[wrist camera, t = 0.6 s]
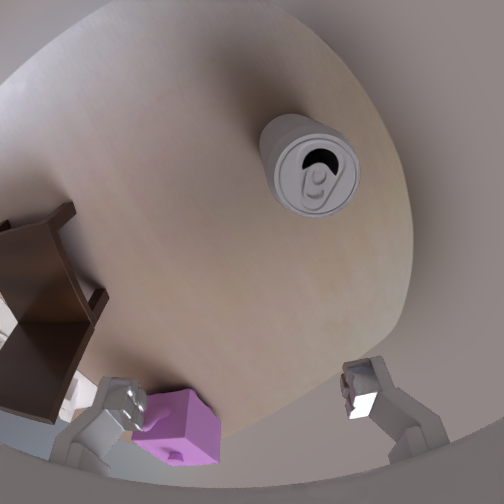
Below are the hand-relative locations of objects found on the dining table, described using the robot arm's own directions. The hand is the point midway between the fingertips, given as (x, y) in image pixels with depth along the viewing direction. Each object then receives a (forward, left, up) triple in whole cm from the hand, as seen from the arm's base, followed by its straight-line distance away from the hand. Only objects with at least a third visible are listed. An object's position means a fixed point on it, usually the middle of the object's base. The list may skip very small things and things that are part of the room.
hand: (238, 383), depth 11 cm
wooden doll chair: (+5, -27, -23) cm, 35 cm away
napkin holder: (+35, -40, -23) cm, 58 cm away
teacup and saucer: (+19, -51, -23) cm, 59 cm away
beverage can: (-4, +5, -23) cm, 24 cm away
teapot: (+36, -17, -23) cm, 46 cm away
